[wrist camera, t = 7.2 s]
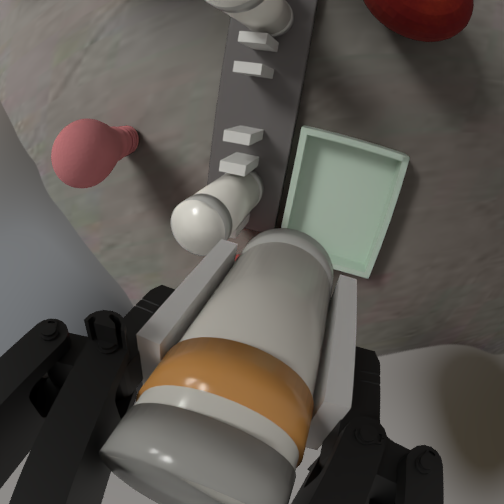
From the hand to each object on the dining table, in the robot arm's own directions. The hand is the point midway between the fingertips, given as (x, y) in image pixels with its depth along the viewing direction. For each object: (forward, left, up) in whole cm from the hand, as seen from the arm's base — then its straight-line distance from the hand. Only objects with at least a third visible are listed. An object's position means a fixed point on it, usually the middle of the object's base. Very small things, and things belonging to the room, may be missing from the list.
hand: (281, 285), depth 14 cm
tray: (+2, +3, -20) cm, 20 cm away
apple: (-20, +5, -20) cm, 29 cm away
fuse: (+3, -7, -19) cm, 20 cm away
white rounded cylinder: (-15, -7, -19) cm, 25 cm away
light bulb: (0, -22, -20) cm, 30 cm away
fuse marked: (0, 0, -1) cm, 1 cm away
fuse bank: (-6, -7, -20) cm, 22 cm away
